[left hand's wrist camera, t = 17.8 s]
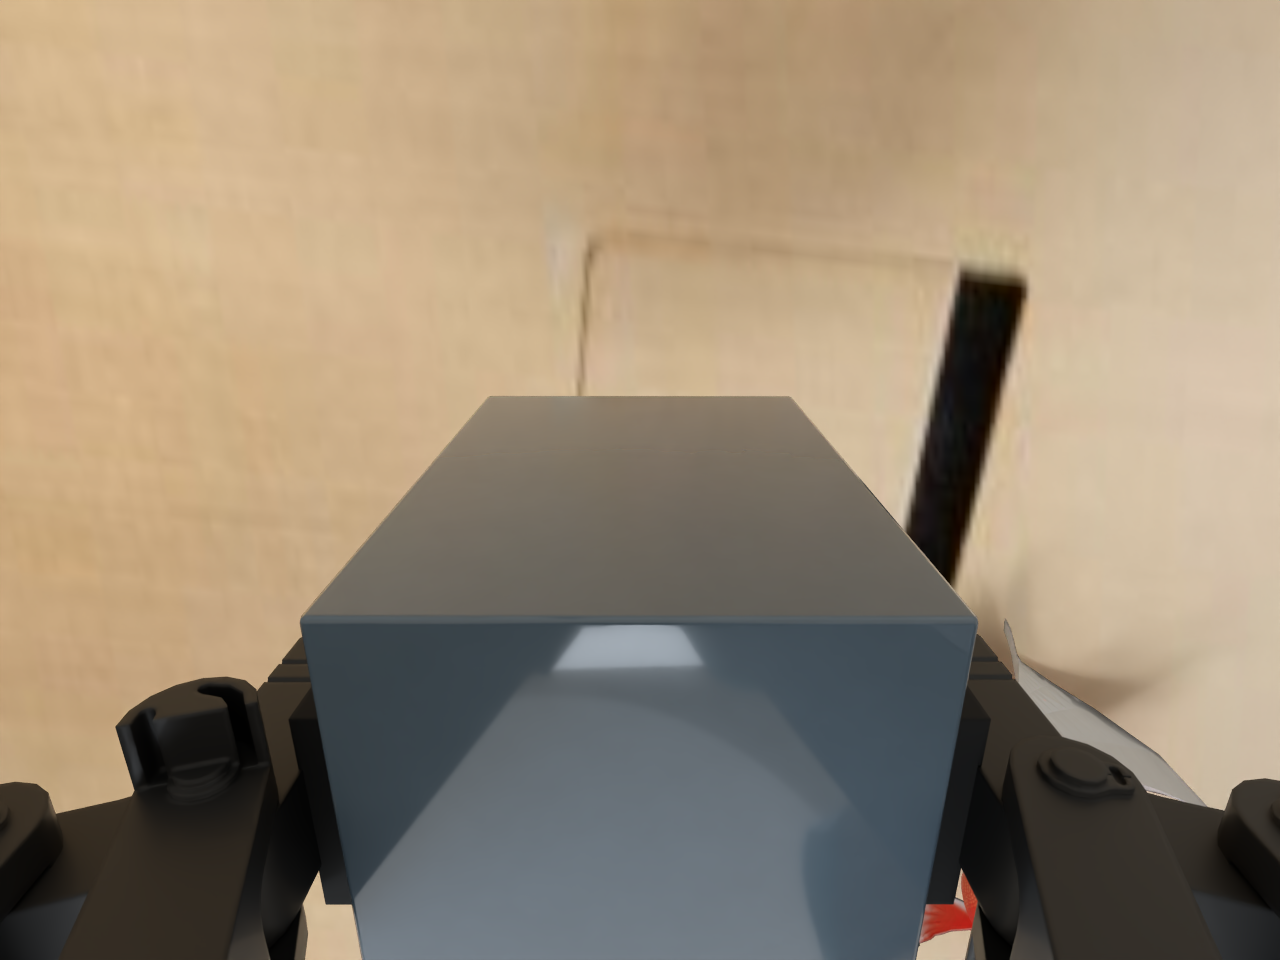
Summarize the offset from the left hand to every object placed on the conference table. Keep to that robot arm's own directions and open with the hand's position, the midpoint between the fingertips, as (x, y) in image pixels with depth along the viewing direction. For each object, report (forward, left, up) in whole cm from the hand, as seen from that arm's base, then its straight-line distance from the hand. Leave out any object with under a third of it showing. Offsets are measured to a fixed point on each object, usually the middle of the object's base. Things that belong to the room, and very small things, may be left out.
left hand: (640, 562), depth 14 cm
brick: (0, 0, -1) cm, 1 cm away
